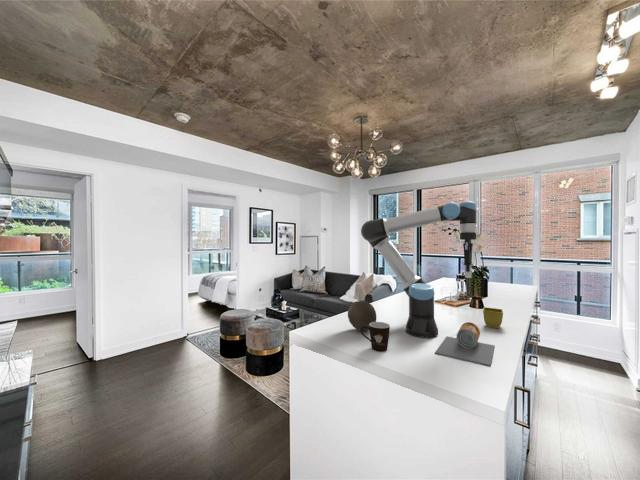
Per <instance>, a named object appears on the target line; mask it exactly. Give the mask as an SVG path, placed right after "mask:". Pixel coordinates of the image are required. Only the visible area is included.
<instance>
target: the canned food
mask: <svg viewBox="0 0 640 480" xmlns="http://www.w3.org/2000/svg"><path fill="white" fill-rule="evenodd" d="M455 336H456V337H455V338H457V341H458V343H459V344H460V345H461V346H463V347H465V348H473V347H475V346H476V345H477V342H479V338H480V336H481V329H480V328H479V326H478V325H477V324H475V323H473V322H470V321H469V322H468V321H467V322H464V323H463V324H462V325H460V327H459V329H458V331H457V333H456V335H455Z"/></svg>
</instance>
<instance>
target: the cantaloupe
mask: <svg viewBox="0 0 640 480" xmlns="http://www.w3.org/2000/svg"><path fill="white" fill-rule="evenodd" d="M347 318H348V321H349V323H350V324H351V327H353V328H354V329H356V330H358V331H360V330H361V328H362V327H363V326H366V327H368V328H369V324H370V323H372V322H377V311H376V309H375V308H374V305H372V304H371V303H370V302H368V301H366V300H359V301H358V300H357V301H354V302H352V303H351V304H350V306H349V308H348V309H347ZM366 331H369V330H368V329H367V328H363V329H362V332H366Z"/></svg>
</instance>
